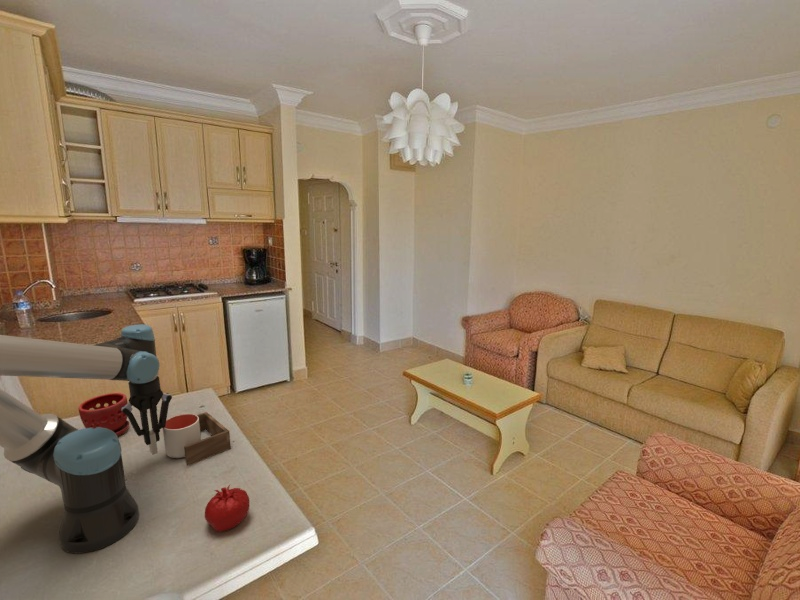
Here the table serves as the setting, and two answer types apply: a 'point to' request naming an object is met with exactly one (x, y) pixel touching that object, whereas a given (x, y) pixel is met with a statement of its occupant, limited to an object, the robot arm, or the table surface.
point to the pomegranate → (227, 508)
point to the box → (208, 440)
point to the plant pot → (105, 413)
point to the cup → (180, 434)
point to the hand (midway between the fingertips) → (153, 452)
